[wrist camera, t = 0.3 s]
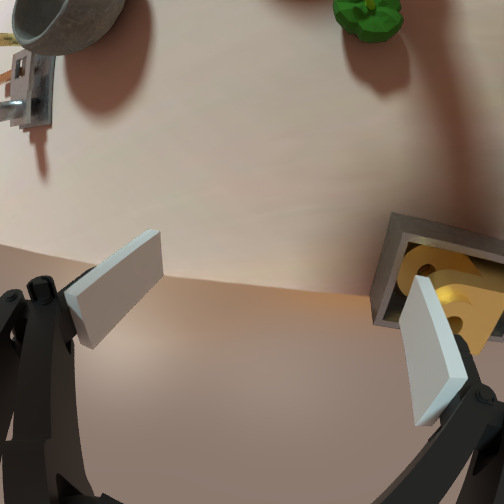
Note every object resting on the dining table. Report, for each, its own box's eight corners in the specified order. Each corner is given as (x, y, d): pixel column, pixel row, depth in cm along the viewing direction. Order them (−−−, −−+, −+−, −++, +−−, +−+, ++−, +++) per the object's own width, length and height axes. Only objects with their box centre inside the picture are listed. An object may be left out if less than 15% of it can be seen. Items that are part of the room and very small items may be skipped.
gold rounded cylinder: (28, 36, 40) (-13, 35, 29) (34, 32, 39) (-7, 31, 29) (26, 47, 41) (-15, 48, 31) (33, 44, 41) (-9, 44, 30)
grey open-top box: (391, 212, 40) (402, 231, 33) (516, 244, 35) (539, 266, 28) (369, 294, 46) (373, 324, 39) (487, 314, 41) (503, 342, 34)
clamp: (386, 283, 44) (400, 353, 30) (402, 228, 40) (431, 284, 26) (484, 303, 41) (518, 365, 26) (505, 255, 36) (552, 309, 22)
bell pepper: (405, 20, 28) (422, -5, 19) (377, 60, 32) (390, 43, 23) (351, -12, 28) (354, -44, 19) (323, 27, 32) (319, 2, 23)
